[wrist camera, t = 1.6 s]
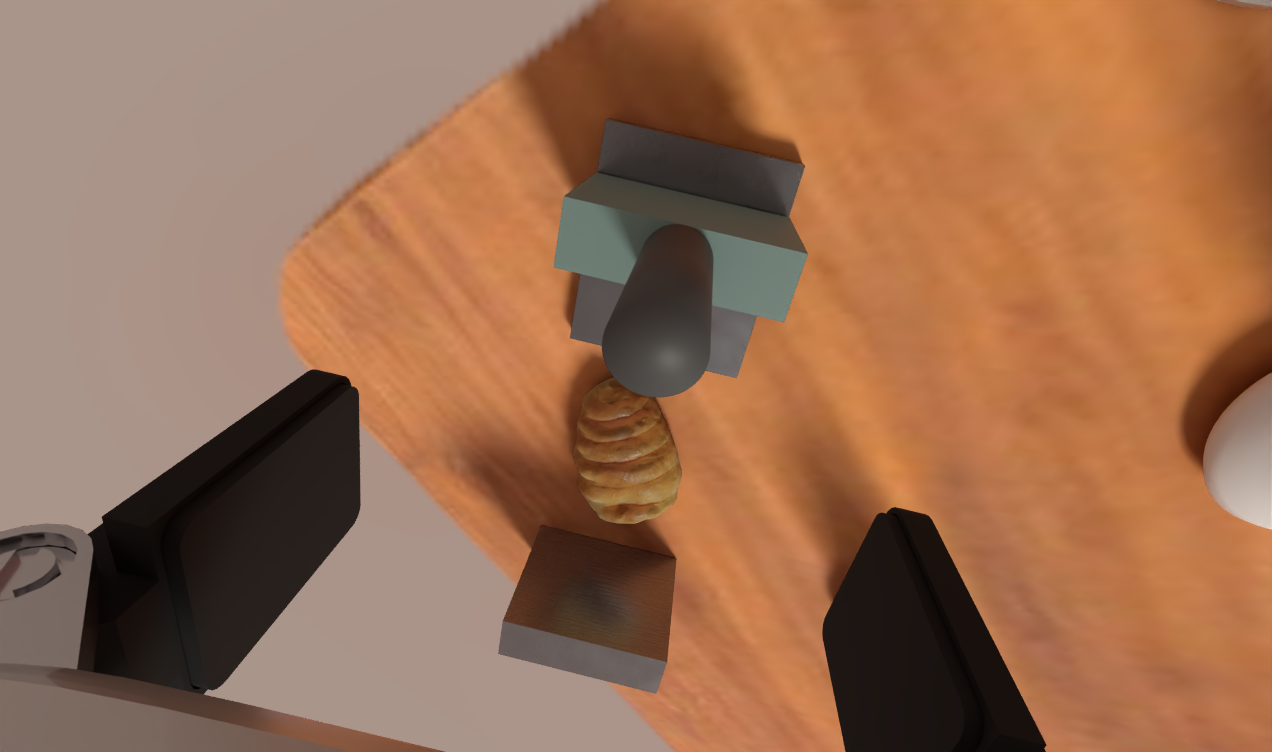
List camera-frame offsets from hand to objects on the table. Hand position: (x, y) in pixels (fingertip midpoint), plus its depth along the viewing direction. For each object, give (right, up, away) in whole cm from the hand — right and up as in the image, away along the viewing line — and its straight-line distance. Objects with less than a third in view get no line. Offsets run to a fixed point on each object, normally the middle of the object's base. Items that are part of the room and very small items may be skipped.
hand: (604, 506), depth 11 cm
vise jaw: (+3, +10, +20) cm, 23 cm away
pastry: (0, -2, +29) cm, 29 cm away
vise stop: (-2, -11, +33) cm, 34 cm away
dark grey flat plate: (+3, +9, +22) cm, 24 cm away
